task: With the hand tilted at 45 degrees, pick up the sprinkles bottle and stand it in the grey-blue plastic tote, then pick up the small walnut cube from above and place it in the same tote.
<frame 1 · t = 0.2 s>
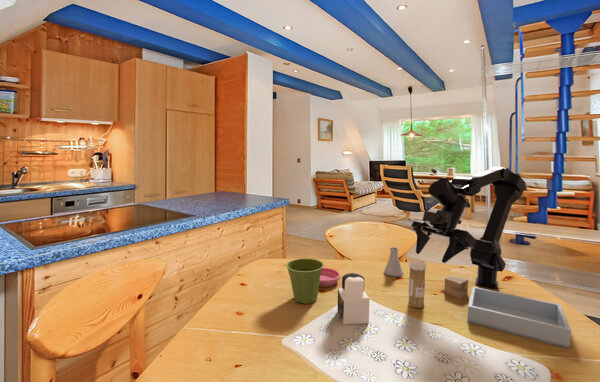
hand: (429, 257, 89), 14 cm above the table, tool tilted 35°, fingers open, 9 cm apart
flask: (393, 274, 114), on the table
walnut cube: (455, 293, 97), on the table
sprinkles bottle: (416, 305, 90), on the table
plant pot: (305, 299, 94), on the table
saucer: (323, 282, 108), on the table
tote: (513, 321, 81), on the table
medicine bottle: (352, 318, 83), on the table
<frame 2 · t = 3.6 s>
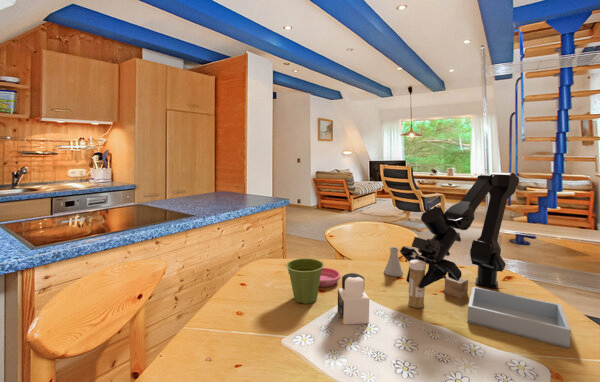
hand: (413, 284, 89), 7 cm above the table, tool tilted 45°, fingers closed on sprinkles bottle, 4 cm apart
sprinkles bottle: (415, 305, 90), on the table, touching gripper
everything else where it was.
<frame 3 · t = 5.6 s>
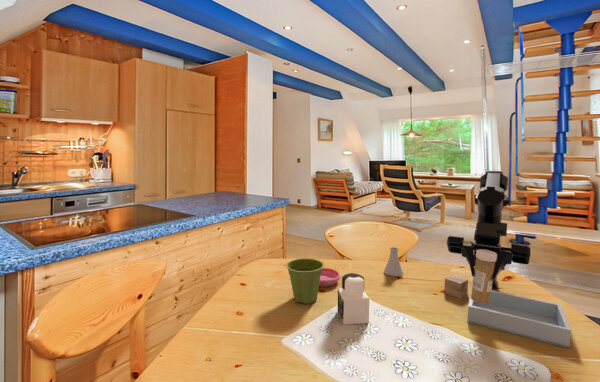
hand: (483, 277, 77), 13 cm above the table, tool tilted 45°, fingers closed on sprinkles bottle, 4 cm apart
sprinkles bottle: (479, 301, 79), point 6 cm above the table, touching gripper
everything else where it was.
when the fingers open (8 cm above the table, at t = 7.8 s): sprinkles bottle stays where it is, resting on tote.
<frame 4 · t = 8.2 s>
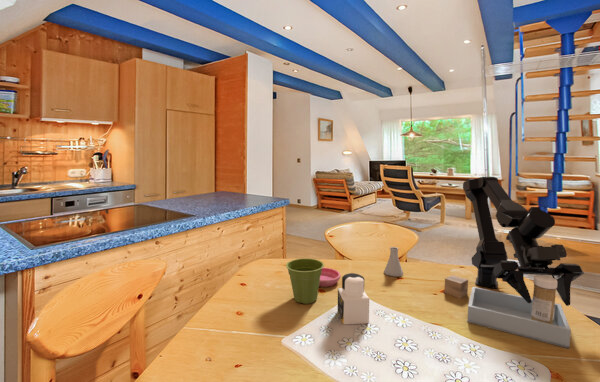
hand: (549, 304, 73), 8 cm above the table, tool tilted 45°, fingers open, 8 cm apart
sprinkles bottle: (540, 329, 76), resting on tote
everything else where it was.
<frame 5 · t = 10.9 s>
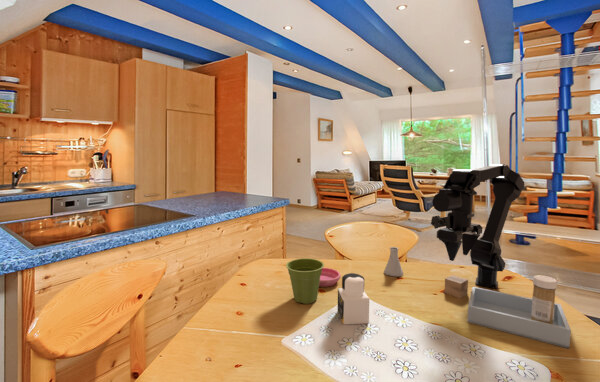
hand: (458, 257, 96), 12 cm above the table, tool pointing down, fingers open, 9 cm apart
nothing on the table moved.
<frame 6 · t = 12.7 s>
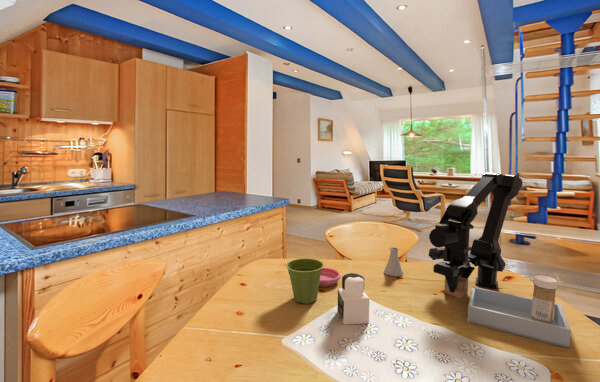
hand: (455, 289, 97), 1 cm above the table, tool pointing down, fingers closed on walnut cube, 5 cm apart
walnut cube: (455, 293, 97), on the table, touching gripper
everything else where it was.
when the fingers open (4 cm above the table, at t = 16.6 s): walnut cube drops 2 cm, resting on tote.
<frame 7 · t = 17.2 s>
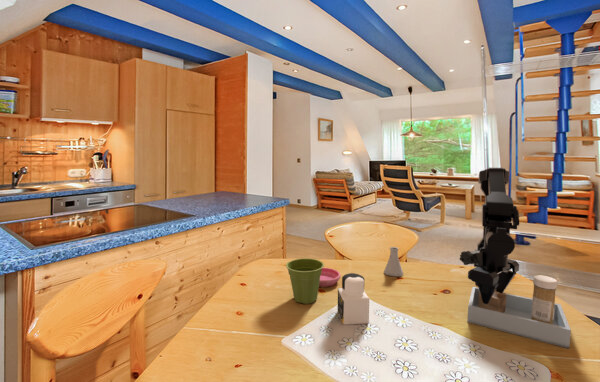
hand: (492, 299, 85), 4 cm above the table, tool pointing down, fingers open, 8 cm apart
walnut cube: (491, 310, 85), point 1 cm above the table, touching tote
everything else where it was.
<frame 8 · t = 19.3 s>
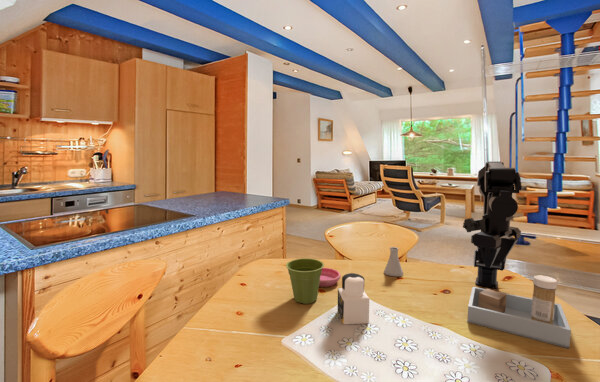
hand: (494, 264, 87), 13 cm above the table, tool pointing down, fingers open, 9 cm apart
nothing on the table moved.
at the end: sprinkles bottle inside the target area on the tote (6.0 cm from its centre), point 0.4 cm above the tote's base; walnut cube inside the target area on the tote (5.4 cm from its centre), point 0.6 cm above the tote's base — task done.
